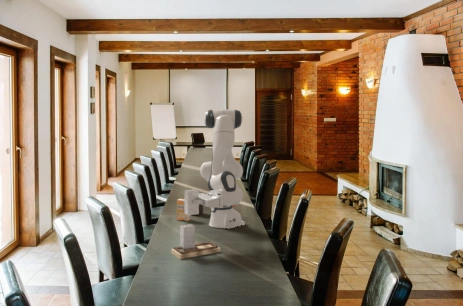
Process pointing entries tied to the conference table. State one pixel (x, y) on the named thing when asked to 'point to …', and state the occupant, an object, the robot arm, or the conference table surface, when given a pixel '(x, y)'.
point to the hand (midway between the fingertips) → (190, 201)
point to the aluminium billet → (189, 206)
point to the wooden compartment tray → (196, 250)
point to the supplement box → (182, 210)
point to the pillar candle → (200, 210)
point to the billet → (187, 237)
